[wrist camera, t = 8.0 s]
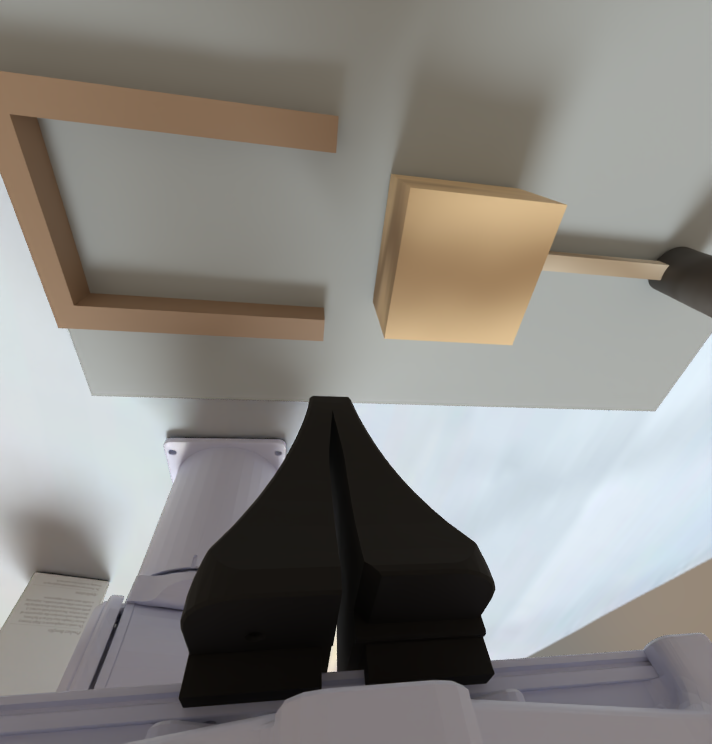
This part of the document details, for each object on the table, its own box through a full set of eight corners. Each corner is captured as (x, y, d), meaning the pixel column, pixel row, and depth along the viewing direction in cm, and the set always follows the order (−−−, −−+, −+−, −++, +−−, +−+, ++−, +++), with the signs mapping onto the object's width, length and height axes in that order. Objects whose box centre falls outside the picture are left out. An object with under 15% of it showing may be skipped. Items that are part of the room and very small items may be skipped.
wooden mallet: (659, 320, 22) (720, 356, 19) (372, 301, 20) (384, 338, 16) (726, 212, 19) (815, 232, 15) (390, 173, 16) (410, 187, 13)
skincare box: (33, 592, 34) (-85, 789, 24) (35, 567, 32) (-92, 771, 22) (107, 601, 36) (27, 786, 26) (114, 578, 34) (30, 770, 24)
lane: (644, 402, 27) (671, 425, 25) (100, 385, 22) (78, 412, 20) (890, 46, 16) (974, 35, 14) (-81, -149, 11) (-169, -209, 9)
